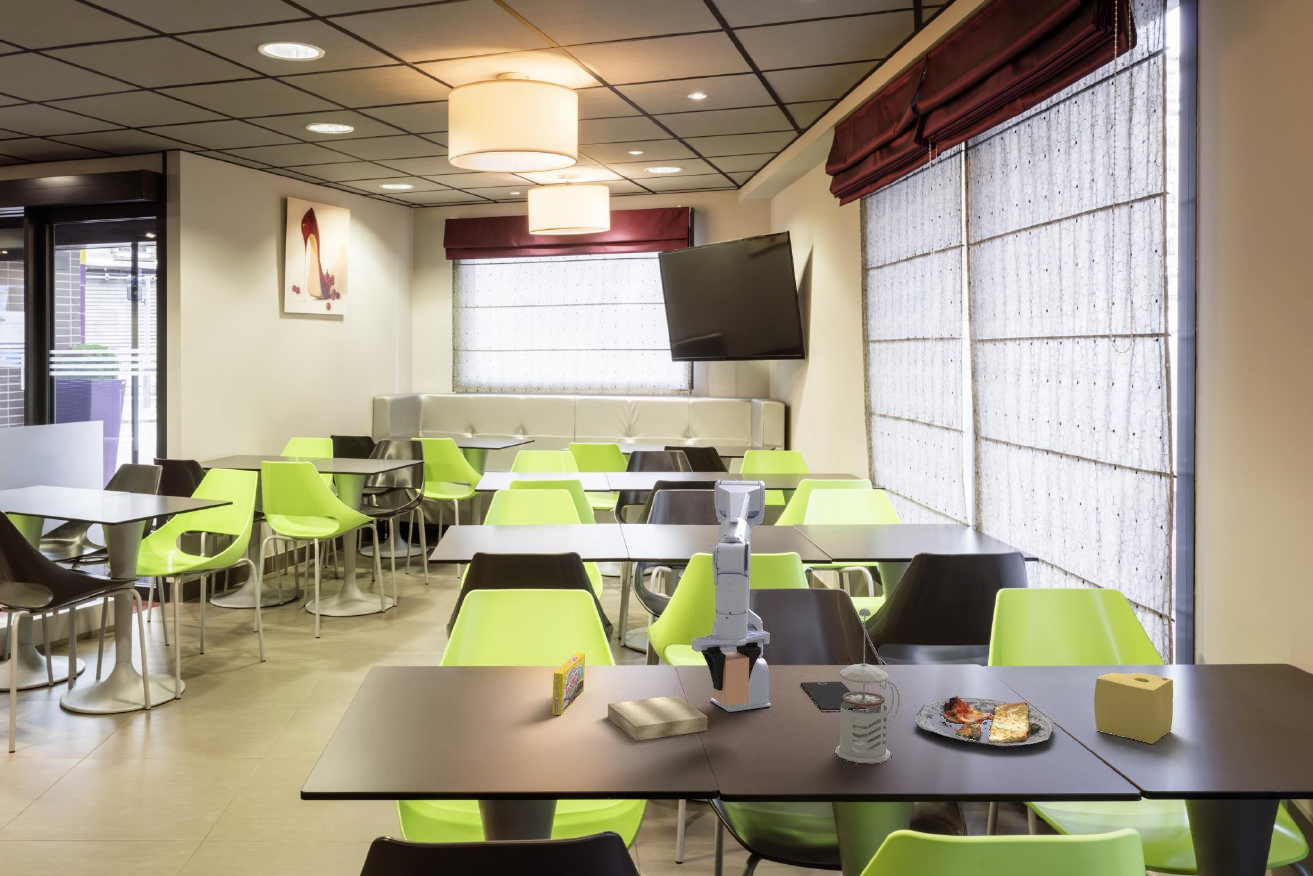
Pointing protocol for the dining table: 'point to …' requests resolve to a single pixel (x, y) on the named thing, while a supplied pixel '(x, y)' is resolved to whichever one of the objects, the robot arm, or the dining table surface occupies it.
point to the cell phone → (828, 694)
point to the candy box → (568, 683)
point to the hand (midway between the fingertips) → (730, 687)
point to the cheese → (1134, 705)
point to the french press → (864, 714)
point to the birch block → (657, 717)
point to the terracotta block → (734, 680)
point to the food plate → (1007, 723)
